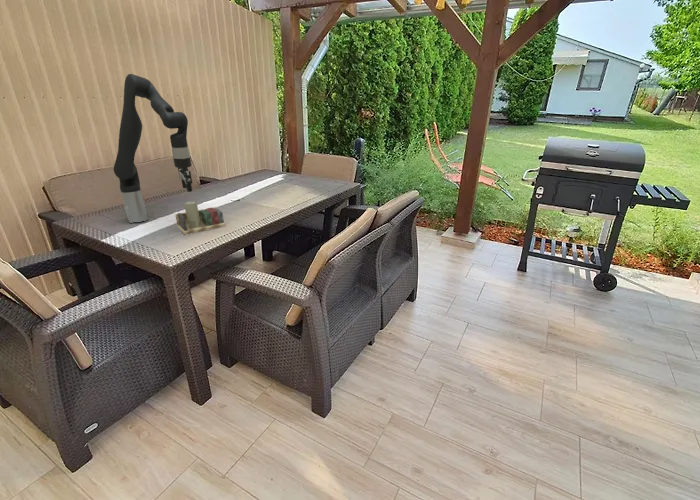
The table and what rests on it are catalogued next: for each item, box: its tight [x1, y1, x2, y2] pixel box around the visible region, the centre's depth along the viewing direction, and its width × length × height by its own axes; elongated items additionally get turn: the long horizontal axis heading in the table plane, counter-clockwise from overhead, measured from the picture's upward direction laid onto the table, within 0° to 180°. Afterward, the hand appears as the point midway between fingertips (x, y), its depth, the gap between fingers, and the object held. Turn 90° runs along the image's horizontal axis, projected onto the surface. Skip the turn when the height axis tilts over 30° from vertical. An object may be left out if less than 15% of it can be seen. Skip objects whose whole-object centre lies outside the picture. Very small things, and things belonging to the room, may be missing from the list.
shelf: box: [174, 206, 227, 235], centre depth 184 cm, size 21×13×8 cm, turn 128°
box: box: [183, 201, 201, 227], centre depth 180 cm, size 5×4×13 cm
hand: (187, 189), depth 174 cm, fingers open, 8 cm apart
